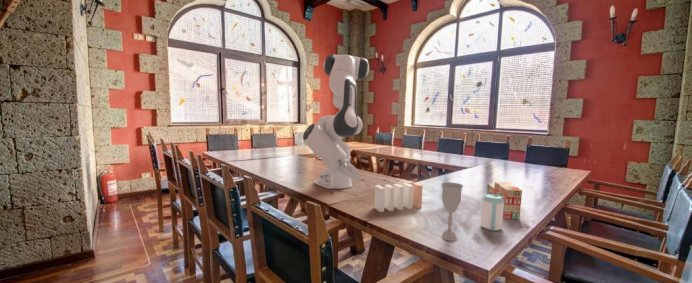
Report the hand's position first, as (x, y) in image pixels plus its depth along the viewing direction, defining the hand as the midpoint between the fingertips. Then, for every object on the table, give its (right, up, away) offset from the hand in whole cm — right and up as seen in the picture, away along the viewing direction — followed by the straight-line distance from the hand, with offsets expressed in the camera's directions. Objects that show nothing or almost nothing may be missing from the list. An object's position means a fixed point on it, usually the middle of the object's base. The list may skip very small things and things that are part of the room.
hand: (358, 181), depth 121 cm
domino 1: (+9, -13, +5) cm, 16 cm away
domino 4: (+22, -13, +9) cm, 27 cm away
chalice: (+30, -16, -22) cm, 40 cm away
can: (+48, -16, -13) cm, 52 cm away
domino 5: (+26, -12, +11) cm, 31 cm away
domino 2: (+13, -13, +6) cm, 20 cm away
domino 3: (+18, -13, +8) cm, 23 cm away
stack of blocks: (+62, -14, +7) cm, 64 cm away
